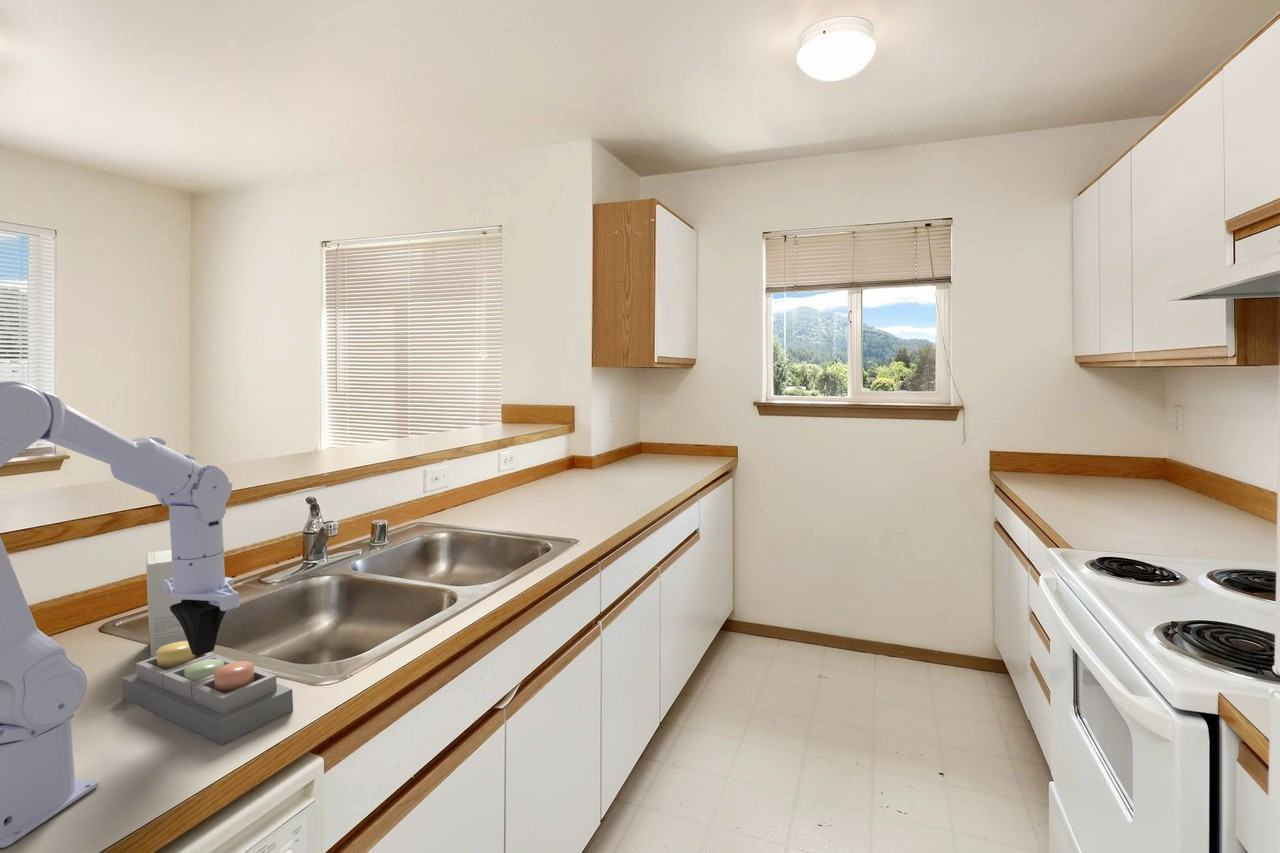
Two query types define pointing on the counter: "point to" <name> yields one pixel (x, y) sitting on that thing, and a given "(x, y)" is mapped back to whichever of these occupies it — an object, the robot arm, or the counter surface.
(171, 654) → the yellow rounded piece
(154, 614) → the skincare box
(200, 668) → the sage button
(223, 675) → the salmon pink button
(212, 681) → the button panel
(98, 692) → the counter surface
